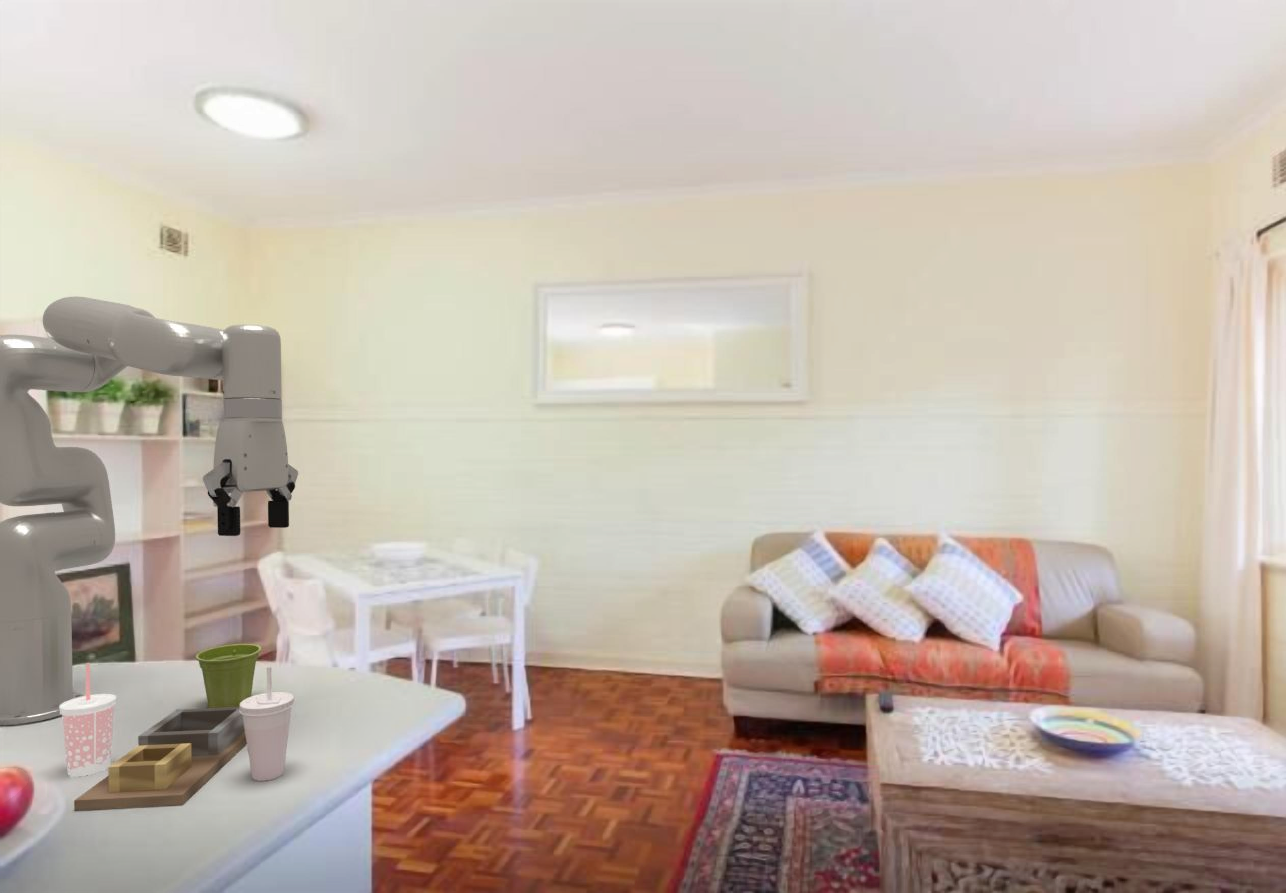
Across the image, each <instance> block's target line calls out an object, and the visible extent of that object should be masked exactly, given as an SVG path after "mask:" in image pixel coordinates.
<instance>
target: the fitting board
mask: <svg viewBox="0 0 1286 893" xmlns="http://www.w3.org/2000/svg"><path fill="white" fill-rule="evenodd" d="M239 710H240V707H226V708H209V707H207V708H206V707H205V708H185V709H181V708H180V709H176V710H174V711H173V712H171V713H169V714H168V715H167V716H165V717H164V718H163V719H161V720H159V721H158V722H156V723H155V724H154V725H152V726H151V727H150V728H148V729H147V730H145V731H143V732H142V733H140V734H139V735H138V737H137V741H138V742H137V743H138V744H137V745H138V746H136V747H134V748H133V749H131V751H129V752H128V753H126V754H125V755H123V756H122V757H121V758H119V759H118V760H115V762H114V763H111V764H110V766H109V767H108V774H107V776H106V777H104V778H103V779H102V780H100V781H99V782H97V783H96V784H95V785H94V786H92V787H90V788H89V789H88V790H86V792H84V793H82V794H81V795H80V796H78V797H77V798H76V799H74V801H73V802H74V804H73V810H79V811H97V810H108V809H109V810H113V809H131V808H149V807H168V806H183V805H184V804H185V803H186V802H187V801H188V800H189V799H190V798H192V797H193V796H194V795H195V794H196V793H197V792H198V791H199V790H200V789H201V788H203V787H204V786H205V784H206V783H208V782H209V780H211V778H213V776H215V775H216V774H217V773H218V772H219V771H220V770H221V769H222V768H223V767H224V766H225V765H226V764H227V763H229V762H230V761H231V760H232V759H233V758H234V757H235V756H236V755H237V754H238V753H239V752H240V751H241V750H242V749H243V748H244V747H246V746H247V741H246V735H245V728H244V722H243V715H242V714H240V712H239ZM236 753H237V754H236ZM235 754H236V755H235ZM233 756H234V757H233ZM232 757H233V758H232ZM231 758H232V759H231Z"/></svg>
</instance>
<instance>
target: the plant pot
mask: <svg viewBox="0 0 1286 893" xmlns="http://www.w3.org/2000/svg"><path fill="white" fill-rule="evenodd" d="M261 651H262V647H261V646H260V645H258V644H254V643H253V644H252V643H236V644H235V643H234V644H227V645H220V646H216V647H211V648H207V649H205V650H201V651H200V652H198V653H197V654H196V655H195V660H196V661H198V663H199V664H198V665H199V667H200V669H201V672H202V676H203V683H204V684H203V685H204V688H205V693H206V694H205V695H206V701H207V705H208V708H226V707H240V703H241V702H242V701H243V700H245V699H247V698H249V697H252V691H253V684H254V677H255V669H256V664H257V661H258V658H259V655H260V652H261Z"/></svg>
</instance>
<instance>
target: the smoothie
mask: <svg viewBox="0 0 1286 893" xmlns="http://www.w3.org/2000/svg"><path fill="white" fill-rule="evenodd" d="M272 672H273V671H272V666H271V665H270V666H267V667H266V693H264V692H263V693H259V694H255V695H251V697H249V698H247V699H245V700H243V701H242V702H241V703H240V710H239V712H240V714H242V715H243V722H244V728H245V735H246V741H247V744H246V746H247V754H248V759H249V767H250V771H251V772H250V773H251V774H250V775H251V779H252V778H253V779H254V781H256V780H257V782H264V781H265V782H266V780H267V781H272V780H274V779H276V778H277V779H278V778H280V777H281V776H282V775H284V773H285V767H286V766H285V765H286V758H287V748H288V739H289V731H290V730H289V729H290V724H291V723H290V722H291V715H292V714H291V712H292V708H293V707H294V705H295V696H294V695H293V694H292V693H290V692H284V691H280V692H279V691H276V692H275V691H274V692H273V687H272V686H273V684H272V683H273V682H272V681H273V680H272V677H273V676H272V675H273V674H272ZM253 779H252V780H253Z"/></svg>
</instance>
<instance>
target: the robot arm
mask: <svg viewBox="0 0 1286 893" xmlns="http://www.w3.org/2000/svg"><path fill="white" fill-rule="evenodd" d="M42 327H43V328H44V331H45V332H46V334H47V335H48V336H49V337H42V336H36V335H35V336H33V335H27V334H1V335H0V504H2V505H4V506H8V507H34V506H35V507H37V506H48V505H62V510H63V511H58V512H44V513H43V512H41V513H33V514H24V515H18V516H17V515H16V516H14V517H10V518H7V519H4V520H2V521H0V726H13V725H24V724H28V723H29V724H31V723H36V722H41V721H44V720H50V719H53V718H57V717H61V716H62V714H60V709H59V705H61V704H62V703H64V702H66V701H68V700H71V699H74V698H78V697H82V696H85V695H84V694H83V693H81V692H77V691H73V690H74V688H73V639H72V638H73V637H72V635H73V631H72V630H73V629H72V599H71V596H70V593H69V590H68V589H67V587H66V586H65V584H64V583H63V582H62V581H61V579H60V578H59V577H58V576H57V574H56V572H59V571H62V570H67V569H74V568H81V567H85V566H90V565H94V564H99V563H101V562H102V561H104V560H106V559H107V558H108V557H109V556H110V555H111V554H112V552H113V549H114V546H115V545H116V544H115V543H116V527H115V518H114V511H113V503H112V502H113V501H112V494H111V487H110V481H109V475H108V471H107V468H106V466H105V464H104V462H103V461H102V459H101V458H100V457H99V456H98V455H97V454H96V453H95V452H93V451H92V450H90V449H88V448H85V447H84V448H83V447H78V446H56V445H55V443H54V439H53V434H52V425H51V420H50V418H49V416H48V414H47V412H46V411H45V410H44V408H43V407H42V405H41V404H40V403H39V402H38V401H37V400H36V399H35V398H34V397H33V396H32V395H31V394H30V393H29V391H30V390H37V391H48V392H49V391H51V392H69V393H70V392H71V393H88V392H92V391H96V390H98V389H100V388H102V387H103V386H105V385H106V384H108V383H109V382H110V381H111V380H112V379H113V378H115V377H116V376H118V375H119V374H120V373H121V372H122V371H124V370H125V369H126V368H127V367H130V368H134V369H137V370H138V369H139V370H143V371H147V372H151V373H155V374H159V375H164V376H170V377H171V376H173V377H186V378H195V379H196V378H198V379H205V380H216V381H217V380H218V381H222V405H223V406H222V411H223V412H222V413H223V415H222V416H223V417H222V418H223V421H219V424H218V427H217V431H216V435H215V444H214V453H213V469H211V470H210V471H208V472H207V473H205V475H203V477H202V482H203V483H204V486H205V488H206V490H207V495H208V497H209V498H210V499H211V501H213V502H212V504H213V506H214V507H215V508H217V509H216V510H217V511H216V512H217V535H218V536H222V537H238V536H240V534H241V506H237V504H238V502H239V500H240V499H241V498H242V495H243V494H244V493H249V492H261V491H262V492H263V491H265V493H266V494H268V497H270V499H271V500H267V524H268V527H269V528H271V529H272V528H274V529H275V528H276V529H280V528H282V529H286V528H289V526H290V504H289V503H290V501H291V500H292V497H293V496H292V493H293V492H294V490H295V488H296V483H297V482H296V481H297V478H298V476H299V471H298V470H297V469H296V468H295V467H293V466H292V465H290V464H289V456H288V446H287V439H286V438H287V437H286V432H285V426H284V422H283V403H282V400H283V399H282V398H283V397H282V396H283V395H282V394H283V393H282V386H283V385H282V341H281V340H282V339H281V338H282V337H281V334H280V333H279V332H278V331H277V330H276V329H275V328H272V327H269V326H264V325H259V324H257V325H256V324H235V325H234V324H232V325H229V326H228V327H226V328H225V329H222V328H221V329H220V328H215V327H211V326H204V325H200V324H199V325H198V324H195V323H194V324H193V323H186V322H179V321H173V320H169V319H162V318H157V317H155V316H154V315H153V314H152V313H151V312H150V311H148V310H145V309H144V308H138V307H135V306H132V305H129V304H126V303H125V304H124V303H119V302H113V301H107V300H101V299H96V298H92V297H85V296H76V295H75V296H67V297H65V296H64V297H62V298H60V299H59V298H58V299H57V300H55V301H53V302H51V303H50V304H49V305H48V306H47V307H46V308H45V309H44V312H43V314H42Z"/></svg>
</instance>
